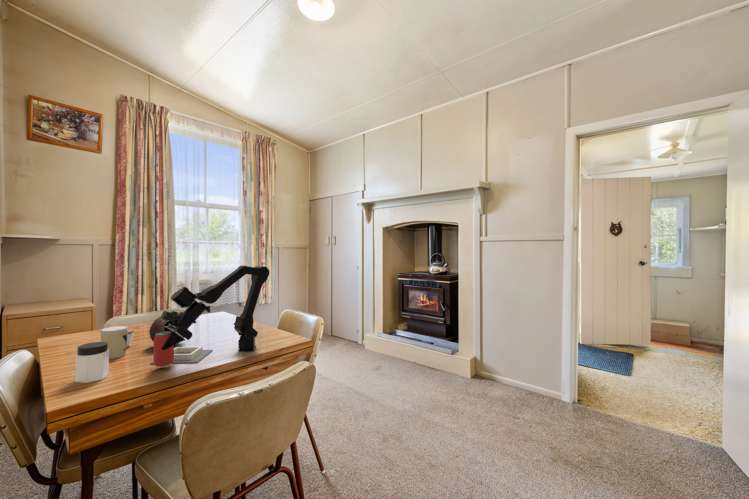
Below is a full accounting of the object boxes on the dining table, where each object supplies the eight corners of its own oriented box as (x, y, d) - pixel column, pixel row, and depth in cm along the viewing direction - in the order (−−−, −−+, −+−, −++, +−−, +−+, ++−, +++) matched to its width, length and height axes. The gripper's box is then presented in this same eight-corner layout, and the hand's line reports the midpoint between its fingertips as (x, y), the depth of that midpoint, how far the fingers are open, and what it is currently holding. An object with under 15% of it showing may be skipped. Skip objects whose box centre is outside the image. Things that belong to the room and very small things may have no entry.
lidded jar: (104, 346, 150) (104, 327, 150) (133, 342, 157) (133, 323, 157) (104, 352, 142) (104, 331, 142) (134, 348, 149) (134, 328, 149)
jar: (106, 372, 120) (106, 340, 120) (111, 377, 114) (111, 344, 114) (73, 379, 113) (74, 345, 113) (77, 385, 108) (77, 350, 108)
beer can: (177, 361, 127) (177, 331, 127) (165, 367, 120) (165, 335, 120) (162, 360, 127) (162, 330, 127) (149, 366, 121) (149, 335, 121)
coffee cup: (129, 356, 138) (130, 328, 138) (101, 361, 131) (101, 332, 131) (125, 351, 144) (125, 324, 144) (98, 356, 137) (98, 328, 137)
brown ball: (158, 352, 143) (159, 319, 143) (143, 347, 151) (143, 315, 151) (192, 344, 155) (193, 313, 155) (176, 339, 163) (177, 310, 163)
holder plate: (212, 350, 146) (212, 344, 146) (197, 363, 130) (197, 356, 130) (170, 351, 144) (170, 345, 144) (150, 364, 128) (150, 357, 128)
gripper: (168, 300, 133) (135, 331, 125) (183, 305, 120) (148, 341, 112) (189, 315, 139) (159, 347, 131) (205, 322, 126) (173, 357, 118)
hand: (159, 347), depth 123 cm, fingers closed on beer can, 7 cm apart
